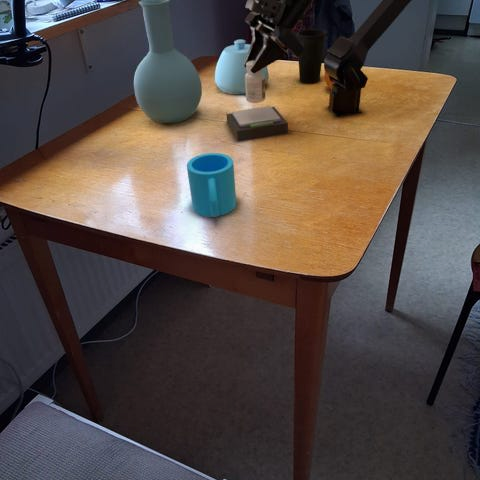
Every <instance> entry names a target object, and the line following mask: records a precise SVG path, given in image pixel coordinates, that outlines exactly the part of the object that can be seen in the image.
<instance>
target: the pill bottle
mask: <svg viewBox="0 0 480 480" xmlns="http://www.w3.org/2000/svg"><path fill="white" fill-rule="evenodd" d="M254 61H255V60H253V61H249V62H247V63H246V69H247V71H248V73H246V75H245V89H246V94H245V100H246V102H248V103H250V104H258V103H263V102H264V101H265V100H266V84H265V74H264V73H263V72H262V71H261V70H262V69H261V70H260V71H258V72H256V73H252V72H251V71H250V69H251V67H252V65H253V63H254Z"/></svg>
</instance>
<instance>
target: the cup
mask: <svg viewBox="0 0 480 480" xmlns="http://www.w3.org/2000/svg"><path fill="white" fill-rule="evenodd" d="M296 35H297V36H298V37H299V39H300V40H301V41H302V42H303V43H304V50H303V52H302V53H301V55H300V56H299V57H298V58H297V60H298V71H299V72H298V74H299V75H298V76H299V82H300V83H302V84H305V85H311V84H317V83H318V82H320V80H321V71H322V65H323V57H324V51H325V44H326V43H325V42H326V37H327V36H326V35H327V31H326V30H325V29H321V28H306V29H301V30H299V31H297V32H296Z"/></svg>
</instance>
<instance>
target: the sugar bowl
mask: <svg viewBox="0 0 480 480" xmlns="http://www.w3.org/2000/svg"><path fill="white" fill-rule="evenodd" d="M233 43H234V44H232V45H229V46H226V47H225V48H224V49H223V50H222V52H221V53H220V56H219V59H218V61H217V63H216V67H215V71H214V83H215V85H216V86H217V87H218V89H220V90H221V92H223V93H225V94H230V95H246V89H245V75H246V73H248V71H247V69H246V68H245V67H244V63H245V60H246V57H247V54H248V51H249V48H250V45H251V43H250V44H249V43H246V40H245V39H236V40H234V41H233ZM261 71H262V72H263V73H264V74H265V85H266V84H267V83H268V82H269V78H270V77H269V76H270V75H269V69H268V66H266V67H265V68H263V69H262V70H261Z"/></svg>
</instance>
